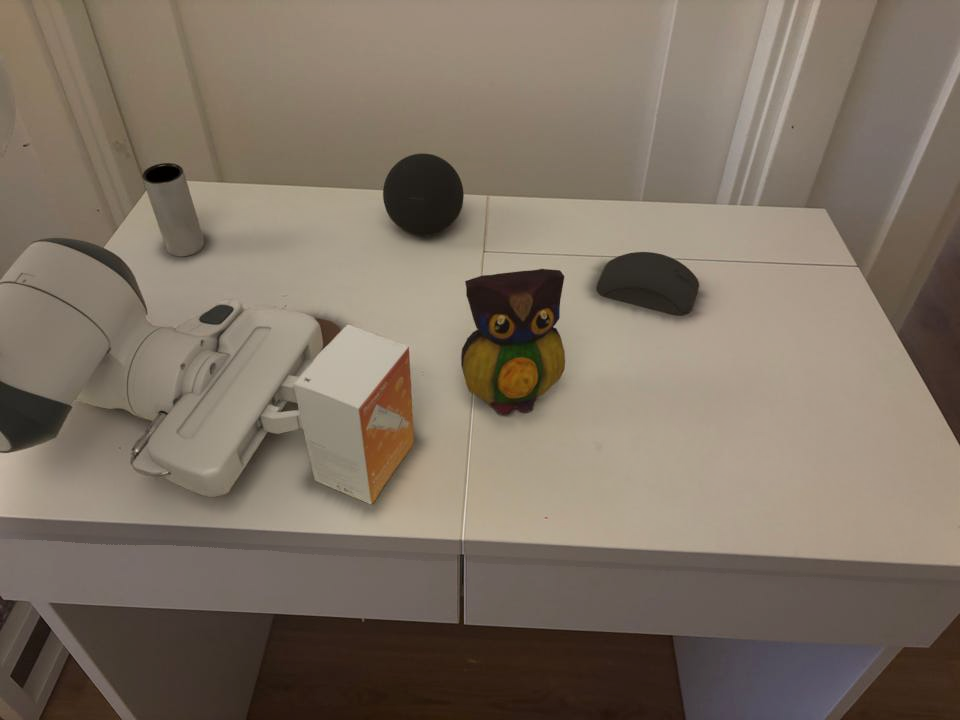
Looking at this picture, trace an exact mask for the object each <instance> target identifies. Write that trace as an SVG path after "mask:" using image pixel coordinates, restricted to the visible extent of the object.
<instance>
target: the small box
mask: <svg viewBox="0 0 960 720" xmlns="http://www.w3.org/2000/svg"><path fill="white" fill-rule="evenodd" d="M410 361H411V360H410V346H408V345H407V344H404V343H400V342H398V341H395V340H393V339H390V338H387V337H384V336H381V335H379V334H377V333H373V332H370V331H368V330H365V329H363V328H360V327H357V326H354V325H352V324H349V323H348V324H346V325H345V326H344V327H343V328H341V331H340V333H339V334H338V335H337V336H336V337H335V338H334V339H333V340H332V341H331V342H330V343H329V344H328V345H327V346H326V347H325V348H324V349H323V350H322V351H321V352H320V353H319V354H318V355H317V356H316V358H315V359H314V360H313V362H312V363H311V364H310V365H309V366H308V367H307V369H306V370H305V371H304V372H303V373H302V374H301V375H300V376H299V377H298V379H297V380H296V381H295V382H294V383H293V386H294V390H295V395H296V399H297V403H296V404H297V408H298V410H299V413H300V417H301V422H302V426H303V429H302V430H303V434H304V439H305V445H306V448H307V453H308V457H309V461H310V466H311V471H312V475H313V479H314V481H315V482H317V483H320V484H322V485H324V486H327V487H328V488H331V489H333V490H335V491H338V492H340V493H342V494H345V495H347V496H350V497H352V498H354V499H357V500H360V501H362V502H364V503H367V504H369V505H373V504H374V503H375V501H376V499H377V498H378V497H379V495H380V493H381V492H382V490H383V488H384V487H385V485H386V484H387V482H388V481H389V480H390V478H391V477H392V476H393V474H394V472H395V471H396V470H397V468H398V467H399V465H400V464H401V463H402V461H403V460H404V458H405V457H406V456H407V454H408V453H409V451H410V450H411V449H412V448H413V446H414V445H415V433H414V430H415V429H414V416H413V414H414V413H413V397H412V396H413V395H412V380H411V379H412V378H411V377H412V376H411V362H410Z"/></svg>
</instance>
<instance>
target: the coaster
mask: <svg viewBox="0 0 960 720" xmlns="http://www.w3.org/2000/svg"><path fill="white" fill-rule="evenodd" d="M314 318H315V320H316V321H317V322H318V323H319V325H320V328H321V333H322V339H323V347H322V349H321V351H322V350H323V349H324V348H325V347H326V346H327V345H328V344H329V343H330V342H331V341H332V340H333V339H334V338H335V337H336V336H337V335H338V334H339V333H340V331H341V330H342V328H341V327H340V326H339V325H337V324H336V323H335V322H333V321H331V320H328V319H325V318H320V317H319V318H318V317H314ZM321 351H320V352H321ZM320 352H319V353H320Z"/></svg>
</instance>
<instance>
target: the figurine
mask: <svg viewBox="0 0 960 720" xmlns="http://www.w3.org/2000/svg"><path fill="white" fill-rule="evenodd" d="M565 278H566V277H565V275H564V274H563V273H562V271H561V270H560V269H548V268H547V269H546V268H539V269H531V270H520V271H519V270H518V271H512V272H502V273H494V274H483V275H479V276H476V277H473V278H470V279H467V280H465V281H464V283H465V287H466V288H465V292H466V293H465V294H466V295H465V296H466V299H467V301H468V305H469V309H470V313H471V315H472V319H473V322H474V326H475V328H476V330H474V331H472V333H470V335H469V336H468V337H467V338H466V340H465V342H464V344H463V346H462V349H461V356H460V365H461V370H462V373H463V377H464V378H463V379H464V382H465V385H466V387H467V390H468V392H469V393H471V394H473V395H475V396H477V397H478V398H480V399H481V400H482V401H484V402H485V403H487V404H489V406H491V407H492V408H493V409H494V410H495V412H497V414H499V415H505V416H509V415H510V414H511V413H512V412H513V411H514V408H515V409H517V411H520V412H523V413H527V412H529V411H532V410H533V409H534V405H535V403H536V400H537V399H538V398H539V397H540V396H543V395H544V394H545V393H546V392H547V391H548V390H550V389H551V387H553V386H554V385H555V384H556V383H558V382H559V380H560V379H561V378H562V376H563V373H564V372H565V368H566V367H565V366H566V354H565V353H566V352H565V349H564V348H565V347H564V344H563V340H562V338H561V334H560V333H559V331H558V329H557V328H556V327H555V326H556V324H557V323H558V321H559V320H560V319H561V318H560V316H561V315H560V314H561V313H560V311H561V299H562V293H563V287H564V281H565Z"/></svg>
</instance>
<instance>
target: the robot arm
mask: <svg viewBox="0 0 960 720" xmlns="http://www.w3.org/2000/svg"><path fill="white" fill-rule="evenodd" d="M14 92H15V91H14V87H13V83H12V78H11V75H10V71H9V68H8V66H7V62H6V60H5V57H4V55H3V53H2V50H1V49H0V162H1V161H2V160H3V158H4V156H5V153H6V152H7V149H8V147H9V144H10V141H11V139H12V135H13V132H14V127H15V124H16V115H17V114H16V113H17V111H16V110H17V108H16V107H17V106H16V105H17V104H16V96H15V93H14ZM148 313H149V312H148V308H147V305H146V302H145V298H144V296H143V294H142V290H141V289H140V286H139V284H138V281H137V279H136V276H135V275H134V273H133V271H132V269H131V268H130V267H129V266H128V265H127V263H126V262H125V261H124V260H123V259H122V258H121V257H120V256H118V255H117V254H116V253H114V252H112V251H111V250H108V249H107V248H105V247H103V246H100V245H98V244H95V243H92V242H89V241H85V240H82V239H76V238H75V239H74V238H67V237H48V238H47V237H46V238H41V239H37V240H34V241H32V242H31V243H30V245H28V247H27V248H26V249H24V251H23V252H22V253H21V255H20V256H19V257H18V258H17V259H16V260H15V261H14V263H13V264H12V265H11V266H10V267H9V269H8V270H7V271H6V272H5V274H4V275H3V276H2V277H1V279H0V454H11V453H15V452H20V451H23V450H27V449H30V448H33V447H36V446H39V445H41V444H44V443H47V442H49V441H51V440H53V439H56V438H57V436H58V435H59V433H60V431H61V429H62V427H63V425H64V423H65V422H66V420H67V418H68V416H69V414H70V413H71V410H73V406H72V405H73V404H74V403H75V401H78V402H81V403H84V404H87V405H91V406H94V407H97V408H101V409H102V408H103V409H109V410H110V409H112V410H113V409H123V410H125V411H127V412H129V413H130V414H132V415H133V416H135V417H138V418H140V419H144V420H148V421H151V422H150V424H149V425H148V426H147V428H146V429H145V431H144V433H143V434H142V435H141V437H140V438H138V439H137V440H136V441H135V442H134V443H133V445H132V447H131V448H130V451H129V452H130V455H131V456H130V459H129V464H130V467H131V469H132V470H134V471H135V472H136V473H138V474H140V475H143V476H147V477H151V478H154V479H155V478H156V479H159V478H160V479H162V478H165V479H166V480H168V481H170V482H171V483H173V484H175V485H177V486H180V487H181V488H184V489H186V490H188V491H191V492H194V493H196V494H199V495H202V496H205V497H207V498H216V497H219V496H224V495H226V494H228V493H229V492H230V491H231V489H232V488H233V486H234V485H235V483H236V481H237V480H238V478H239V477H240V475H241V474H242V472H243V470H244V469H245V468H246V466H247V465H248V463H249V461H250V460H251V458H252V457H253V455H254V453H255V452H256V450H257V449H258V448H259V446H260V445H261V443H262V441H263V440H264V439H265V437H266V435H267V434H268V433H272V434H276V435H279V434H284V433H289V432H293V431H298V430H300V429H302V430H303V426H302V422H301V417H300V413H299V409H294V410H285V411H283V409H284V408H285V406H286V405H287V403H288V402H290V403H294V404H297V399H296V395H295V390H294V386H293V383H294V382H295V381H296V380H297V379H298V377H299V376H300V375H301V374H302V373H303V372H304V371H305V370H306V369H307V367H308V366H309V365H310V364H311V363H312V362H313V360H314V359H315V358H316V356H317V355H318V354H319V352H320V351H321V349H322V347H323V339H322V333H321V328H320V325H319V323H318V322H317V321H316V320H315V318H316V317H314V316H312V315H310V314H308V313H303V312H301V311H300V312H299V311H295V310H291V309H285V308H281V307H274V306H267V305H257V306H256V305H255V306H251V307H248V308H246V309H244V306H243V304H242V302H241V301H239V300H236V299H231V298H226V299H222V300H221V301H219V302H217V303H215V304H214V305H213V306H212V307H210V308H209V309H207V310H205V311H204V312H202V313H200V314H199V315H197V316H196V317H194V318H192V319H189V320H187V321H185V322H183V323H181V324H179V325H178V326H176V327H172V326H158V325H155V324H153V323H151V322H150V321H149V320H148V318H147V316H148V315H149V314H148Z"/></svg>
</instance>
